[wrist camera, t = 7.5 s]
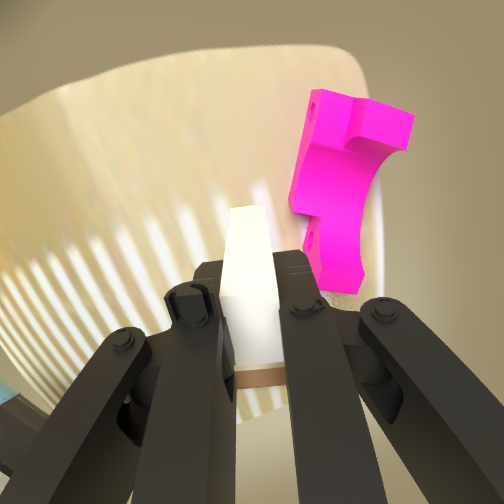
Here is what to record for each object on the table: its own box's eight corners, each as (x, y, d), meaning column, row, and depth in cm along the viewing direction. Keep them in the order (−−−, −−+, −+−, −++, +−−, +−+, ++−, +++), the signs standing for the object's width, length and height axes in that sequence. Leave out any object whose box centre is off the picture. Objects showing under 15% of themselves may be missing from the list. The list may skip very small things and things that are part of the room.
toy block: (311, 89, 24) (332, 88, 17) (376, 108, 24) (414, 115, 17) (278, 241, 31) (284, 285, 24) (336, 251, 31) (356, 294, 25)
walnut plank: (224, 372, 40) (222, 390, 37) (216, 348, 38) (214, 366, 35) (340, 359, 39) (345, 377, 36) (343, 334, 37) (348, 352, 34)
